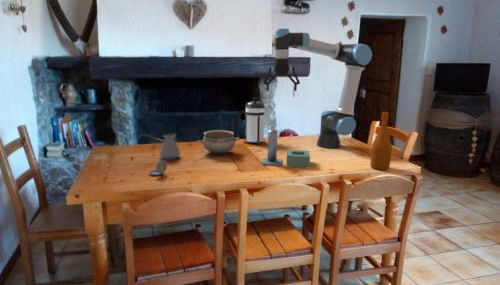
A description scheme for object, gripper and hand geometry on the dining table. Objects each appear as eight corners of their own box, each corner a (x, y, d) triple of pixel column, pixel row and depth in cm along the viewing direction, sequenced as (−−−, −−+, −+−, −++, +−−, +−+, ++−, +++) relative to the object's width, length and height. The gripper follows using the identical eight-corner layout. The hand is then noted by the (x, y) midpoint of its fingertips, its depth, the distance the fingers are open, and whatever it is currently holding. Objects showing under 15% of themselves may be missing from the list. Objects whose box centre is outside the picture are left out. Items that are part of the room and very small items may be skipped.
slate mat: (281, 160, 203) (281, 158, 203) (280, 165, 194) (280, 164, 193) (263, 159, 204) (263, 158, 204) (262, 164, 195) (262, 163, 194)
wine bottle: (390, 171, 187) (397, 113, 180) (370, 170, 189) (376, 112, 182) (387, 165, 196) (393, 110, 189) (368, 164, 198) (374, 109, 191)
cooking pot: (201, 159, 203) (201, 138, 200) (194, 151, 220) (194, 131, 217) (244, 155, 211) (244, 135, 208) (234, 148, 229) (234, 129, 226)
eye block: (308, 161, 203) (308, 150, 201) (309, 167, 191) (310, 156, 190) (286, 160, 204) (287, 149, 203) (286, 166, 192) (286, 155, 191)
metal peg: (276, 159, 201) (277, 129, 197) (276, 162, 196) (277, 131, 192) (267, 159, 201) (268, 129, 197) (267, 162, 197) (267, 131, 193)
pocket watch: (150, 171, 181) (149, 152, 179) (167, 171, 182) (167, 152, 179) (147, 177, 173) (146, 157, 171) (165, 177, 174) (164, 156, 171)
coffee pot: (178, 154, 213) (178, 129, 209) (182, 159, 202) (181, 133, 199) (140, 157, 206) (139, 131, 202) (142, 162, 195) (140, 135, 192)
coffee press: (260, 139, 253) (261, 96, 246) (268, 144, 238) (270, 98, 231) (236, 140, 248) (236, 96, 241) (243, 146, 233) (244, 99, 226)
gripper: (258, 58, 197) (259, 97, 202) (305, 57, 195) (304, 97, 200) (259, 58, 204) (259, 96, 209) (304, 57, 202) (303, 95, 208)
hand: (281, 96), depth 205 cm, fingers open, 13 cm apart
